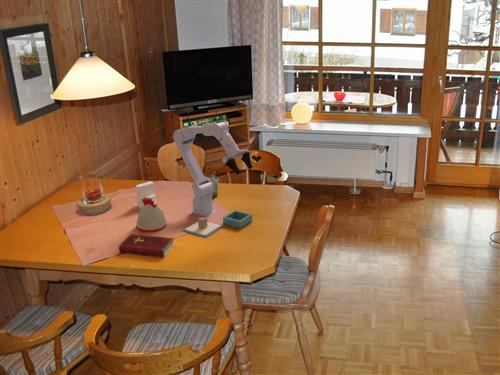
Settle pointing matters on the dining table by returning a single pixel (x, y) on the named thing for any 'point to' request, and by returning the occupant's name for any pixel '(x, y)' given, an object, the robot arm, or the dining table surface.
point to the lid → (203, 227)
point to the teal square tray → (237, 219)
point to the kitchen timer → (150, 217)
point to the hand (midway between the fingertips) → (245, 171)
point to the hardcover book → (146, 245)
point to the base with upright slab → (145, 193)
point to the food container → (215, 181)
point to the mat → (201, 235)
